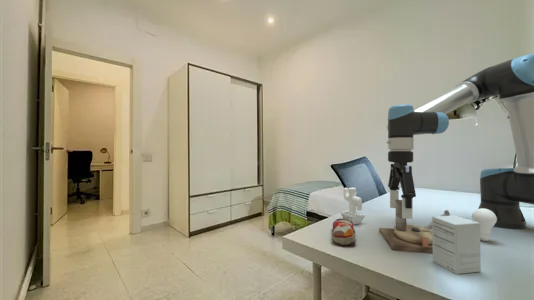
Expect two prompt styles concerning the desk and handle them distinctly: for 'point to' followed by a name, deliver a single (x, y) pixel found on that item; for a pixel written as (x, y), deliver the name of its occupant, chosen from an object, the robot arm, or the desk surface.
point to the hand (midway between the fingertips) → (400, 212)
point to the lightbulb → (484, 222)
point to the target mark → (424, 241)
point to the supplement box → (456, 244)
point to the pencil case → (343, 232)
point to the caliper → (446, 213)
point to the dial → (409, 228)
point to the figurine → (353, 206)
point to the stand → (403, 242)
